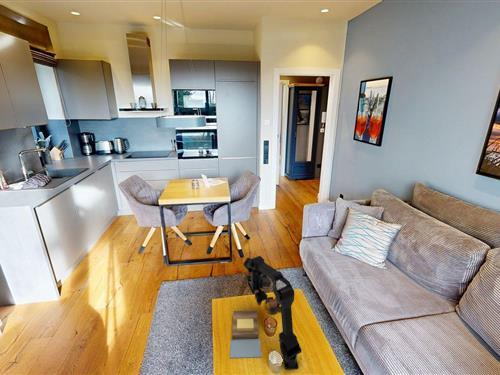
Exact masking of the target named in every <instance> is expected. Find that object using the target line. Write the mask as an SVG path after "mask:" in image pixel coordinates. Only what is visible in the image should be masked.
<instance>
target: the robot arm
mask: <svg viewBox="0 0 500 375" xmlns="http://www.w3.org/2000/svg"><path fill="white" fill-rule="evenodd" d="M242 266H243V267H244V268H245V270H246V271H247V272H248V273H251V275H248V276H247V277H246V282H247V285H248V287H249V289H250V292H251V293H252V295H254V299H255V301H256V304H257V306H261V304H262V302H265V301H266V300H267V299H268V297H269V296H268V294H267V292H266V291H265V290H262V289H264V288H265V287H266V288H270V287H271V284H272V292H273V295H274V297H276V299H277V302H278V303H279V304H280V307H281V310H280V313H281V314H280V315H281V316H280V317H281V327H282V331H281V332H280V333H278V342H279V348H280V349H279V350H280V353H281V356H282V360H283V359H284V360H283V365H284V369H285V370H298V369H299V365H298V364H299V362H298V360H297V358H298V355H299V354H301V353H302V351H303V350H302V347H301V345H300V343H299V340H298V337H297V336H296V334H295V333H294V327H293V326H294V325H293V324H294V323H293V315H292V313H293V312H292V306H293V303H294V301H295V290H294V287H293V286H292V284H291V282H290V281H289V280H288V279H287V278H285V277H284V274H282V272H281V271H280V270H276V269H275V268H274V267H272V266H271V265H270V264H268V263H266V262H265V258H263V257H262V256H261V255H257V256H255V257H251V258H250V257H246V260H244V262H243V265H242ZM279 281H281V282H282V283H283V284H284V285H285V286H283V287H280V288H277V282H279ZM256 291H257V292H256Z"/></svg>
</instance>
